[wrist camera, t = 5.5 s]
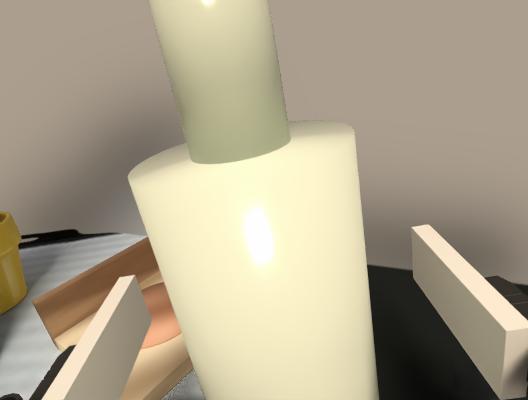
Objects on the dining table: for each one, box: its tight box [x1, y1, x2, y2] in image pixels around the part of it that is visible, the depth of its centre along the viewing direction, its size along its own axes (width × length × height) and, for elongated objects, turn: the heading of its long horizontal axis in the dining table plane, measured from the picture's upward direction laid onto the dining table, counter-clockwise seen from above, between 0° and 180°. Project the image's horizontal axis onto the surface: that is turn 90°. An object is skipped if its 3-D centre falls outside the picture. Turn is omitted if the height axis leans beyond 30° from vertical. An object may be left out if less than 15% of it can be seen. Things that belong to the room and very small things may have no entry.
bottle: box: [128, 0, 379, 400], centre depth 13 cm, size 7×7×24 cm
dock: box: [32, 237, 194, 400], centre depth 32 cm, size 14×14×5 cm
